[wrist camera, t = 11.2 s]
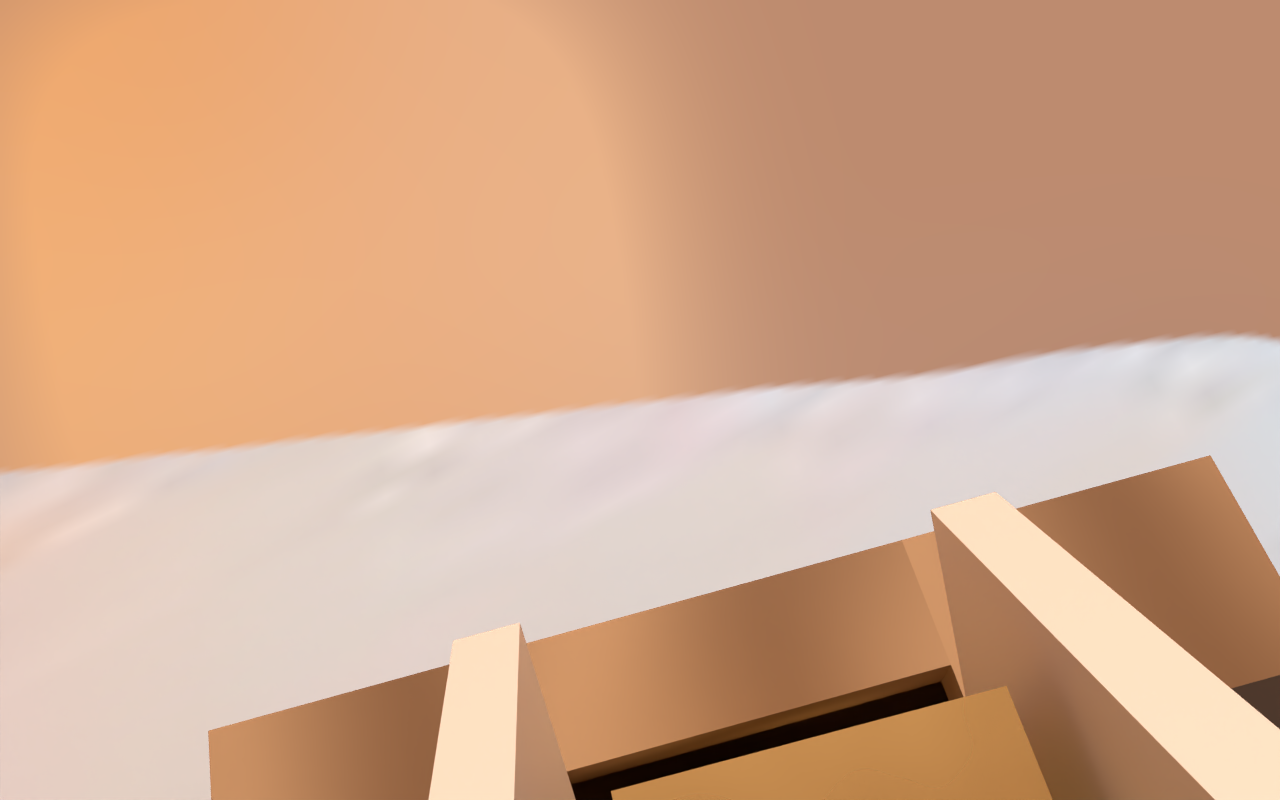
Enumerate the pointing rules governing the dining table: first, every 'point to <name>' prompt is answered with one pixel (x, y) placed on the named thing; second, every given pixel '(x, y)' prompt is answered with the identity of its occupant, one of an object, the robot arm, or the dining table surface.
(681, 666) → the wooden box with opening
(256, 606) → the dining table surface
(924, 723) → the tan rectangular block
